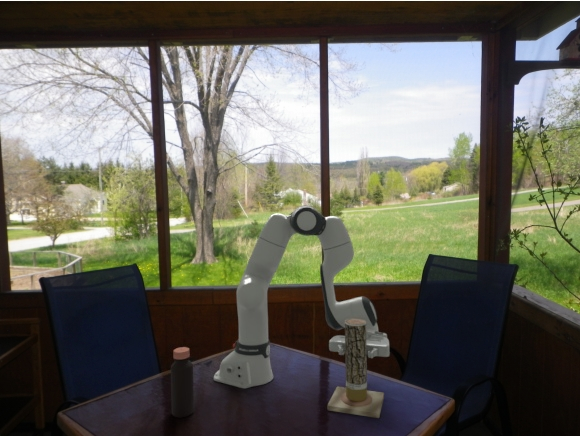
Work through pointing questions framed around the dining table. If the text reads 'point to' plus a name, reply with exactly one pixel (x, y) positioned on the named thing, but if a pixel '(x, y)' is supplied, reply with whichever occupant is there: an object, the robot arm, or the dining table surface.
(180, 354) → the bottle
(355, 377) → the bark print tube
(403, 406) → the dining table surface
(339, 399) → the holder board
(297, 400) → the dining table surface
